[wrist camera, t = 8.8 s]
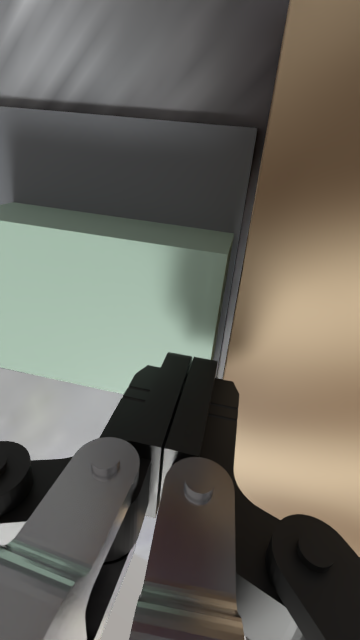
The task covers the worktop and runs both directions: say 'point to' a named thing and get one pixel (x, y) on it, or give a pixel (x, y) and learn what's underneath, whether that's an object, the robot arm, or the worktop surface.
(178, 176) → the mat
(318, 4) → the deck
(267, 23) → the worktop surface
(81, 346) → the mint green slab block
